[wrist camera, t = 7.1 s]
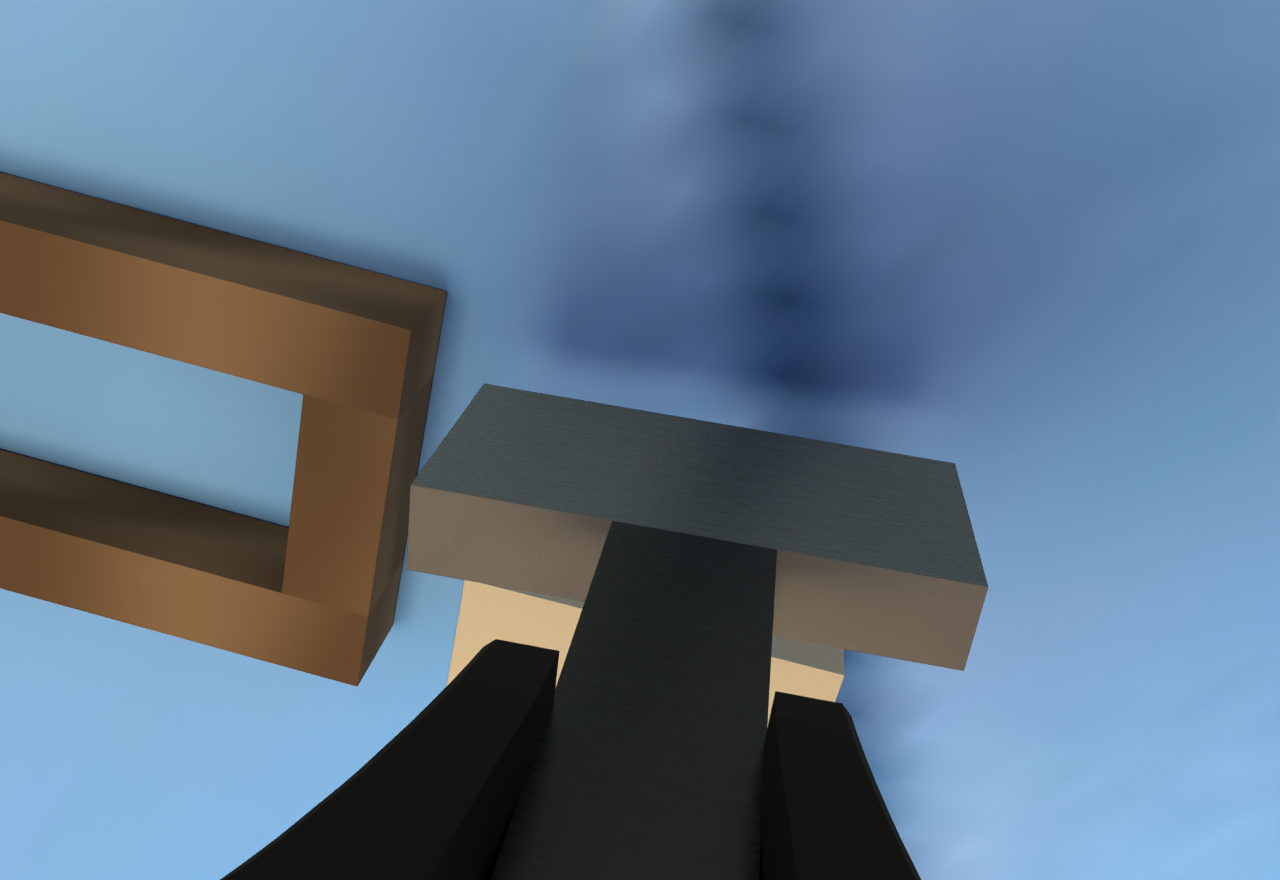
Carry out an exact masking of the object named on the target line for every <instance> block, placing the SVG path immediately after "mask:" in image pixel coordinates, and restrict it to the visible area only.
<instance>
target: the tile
mask: <svg viewBox="0 0 1280 880" xmlns="http://www.w3.org/2000/svg"><path fill="white" fill-rule="evenodd" d="M584 603H585V602H583V601H577V600H572V599H566V598H561V597H555V596H550V595H544V594H539V593H533V592H528V591H522V590H517V589H511V588H506V587H500V586H495V585H489V584H484V583H478V582H473V581H467V580H465V582H464V588H463V594H462V600H461V606H460V612H459V618H458V624H457V630H456V636H455V641H454V647H453V653H452V659H451V665H450V671H449V677H448V683H447V686H448V685H449V683H450V682H451V681H452V680H453V679H454V678H455V677H456V676H457V675H458V674H459V673H460V672H461V671H462V670H463V669H464V667H465V666H466V665H467V664H468V663H469V662H470V661H471V660H472V659H473V658H474V656H475V655H476V654H477V653H478V652H479V651H480V650H481V649H482V647H484V646H485V645H487V644H488V643H490V642H492V641H493V640H495V639H499V640H504V641H509V642H515V643H520V644H526V645H531V646H536V647H542V648H547V649H552V650H558V651H560V652H559V661H558V669H557V678H556V685H557V682H558V679H559V676H560V674H561V671H562V668H563V665H564V662H565V659H566V656H567V653H568V650H569V647H570V644H571V641H572V638H573V635H574V632H575V629H576V626H577V623H578V620H579V617H580V614H581V611H582V608H583V606H584ZM843 678H844V653H843V649H841V648H835V647H830V646H824V645H819V644H813V643H808V642H802V641H797V640H791V639H786V638H780V637H775V636H772V653H771V671H770V689H769V707H768V723H769V718H770V714H771V709H772V704H773V700H774V695H775V691H778V692H783V693H788V694H794V695H799V696H805V697H810V698H815V699H821V700H826V701H831V702H835V701H836V698H837V695H838V692H839V689H840V687H841V684H842V681H843ZM555 688H556V687H555ZM767 727H768V725H767Z"/></svg>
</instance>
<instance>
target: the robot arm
mask: <svg viewBox="0 0 1280 880" xmlns="http://www.w3.org/2000/svg"><path fill="white" fill-rule="evenodd" d="M559 652H560V651H558V650H552V649H547V648H542V647H536V646H531V645H526V644H520V643H515V642H509V641H504V640H499V639H495V640H493V641H492V642H490V643H488V644H487V645H485V646H484V647H482V649H481V650H480V651H479V652H478V653H477V654H476V655H475V656H474V658H473V659H472V660H471V661H470V662H469V663H468V664H467V665H466V666H465V667H464V669H463V670H462V671H461V672H460V673H459V674H458V675H457V676H456V677H455V678H454V679H453V680H452V681H451V682H450V683H449V685H448V686H447V687H446V688H445V689H444V690H443V691H442V692H441V693H440V694H439V695H438V696H437V697H436V698H435V699H434V700H433V701H432V702H431V703H430V704H429V705H428V706H427V707H426V708H425V709H424V710H423V711H422V712H421V713H420V714H419V715H418V716H417V717H416V718H415V719H414V720H413V721H412V722H411V723H410V724H408V725H407V726H406V727H405V728H404V729H403V730H402V731H401V732H400V733H399V734H398V735H397V736H395V737H394V738H393V739H392V740H391V741H390V742H389V743H388V744H387V745H386V746H385V747H384V748H382V749H381V750H380V751H379V752H378V753H377V754H376V755H375V756H374V757H373V758H372V759H371V760H369V761H368V762H367V763H366V764H365V765H364V766H363V767H362V768H361V769H360V770H359V771H357V772H356V773H355V774H354V775H353V776H352V777H351V778H349V779H348V780H347V781H346V782H345V783H344V784H342V785H341V786H340V787H339V788H337V789H336V790H335V791H334V792H333V793H331V794H330V795H329V796H328V797H327V798H325V799H324V800H323V801H322V802H320V803H319V804H318V805H317V806H316V807H314V808H313V809H312V810H311V811H309V812H308V813H307V814H306V815H305V816H303V817H302V818H301V819H300V820H298V821H297V822H296V823H295V824H294V825H292V826H291V827H290V828H289V829H287V830H286V831H285V832H284V833H283V834H281V835H280V836H279V837H277V838H276V839H275V840H274V841H272V842H271V843H270V844H268V845H267V846H266V847H264V848H263V849H262V850H260V851H259V852H258V853H256V854H255V855H254V856H252V857H251V858H250V859H248V860H247V861H246V862H244V863H243V864H242V865H240V866H239V867H237V868H236V869H235V870H233V871H232V872H230V873H229V874H228V875H226V876H225V877H224V878H222V879H221V880H491V878H492V875H493V872H494V869H495V866H496V863H497V860H498V857H499V854H500V851H501V848H502V845H503V842H504V839H505V836H506V833H507V830H508V827H509V824H510V821H511V818H512V815H513V812H514V810H515V807H516V804H517V801H518V798H519V795H520V792H521V790H522V788H523V786H524V784H525V782H526V780H527V778H528V776H529V774H530V771H531V768H532V765H533V762H534V759H535V756H536V753H537V750H538V747H539V744H540V741H541V738H542V735H543V732H544V729H545V726H546V723H547V720H548V717H549V714H550V711H551V708H552V705H553V702H554V696H555V687H556V678H557V669H558V661H559ZM760 824H761V852H760V870H759V880H921V878H920V876H919V874H918V872H917V870H916V868H915V866H914V864H913V862H912V860H911V858H910V856H909V854H908V852H907V850H906V848H905V846H904V844H903V842H902V840H901V838H900V836H899V834H898V831H897V829H896V827H895V825H894V823H893V821H892V819H891V816H890V814H889V812H888V809H887V807H886V805H885V802H884V800H883V798H882V796H881V793H880V791H879V789H878V786H877V784H876V782H875V779H874V777H873V774H872V772H871V769H870V767H869V764H868V762H867V759H866V757H865V754H864V751H863V749H862V746H861V743H860V741H859V738H858V735H857V732H856V729H855V726H854V723H853V720H852V717H851V715H850V714H849V712H848V711H847V710H846V708H845V707H844V706H843V704H842V703H837V702H831V701H826V700H821V699H815V698H810V697H805V696H799V695H794V694H788V693H783V692H778V691H775V695H774V700H773V704H772V709H771V714H770V718H769V723H768V727H767V732H766V737H765V742H764V759H763V776H762V793H761V810H760Z"/></svg>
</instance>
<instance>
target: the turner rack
mask: <svg viewBox="0 0 1280 880" xmlns="http://www.w3.org/2000/svg"><path fill="white" fill-rule="evenodd" d="M446 294H447V291H443V290H439V289H436V288H432V287H428V286H424V285H421V284H417V283H413V282H409V281H406V280H402V279H398V278H394V277H391V276H387V275H383V274H379V273H376V272H372V271H368V270H364V269H361V268H357V267H353V266H349V265H346V264H342V263H338V262H334V261H331V260H327V259H323V258H319V257H316V256H312V255H308V254H304V253H301V252H297V251H293V250H289V249H286V248H282V247H278V246H274V245H271V244H267V243H263V242H259V241H256V240H252V239H248V238H244V237H241V236H237V235H233V234H229V233H226V232H222V231H218V230H214V229H211V228H207V227H203V226H199V225H196V224H192V223H188V222H184V221H181V220H177V219H173V218H169V217H166V216H162V215H158V214H154V213H151V212H147V211H143V210H139V209H136V208H132V207H128V206H124V205H121V204H117V203H113V202H109V201H106V200H102V199H98V198H94V197H91V196H87V195H83V194H79V193H76V192H72V191H68V190H64V189H61V188H57V187H53V186H49V185H46V184H42V183H38V182H34V181H31V180H27V179H23V178H19V177H16V176H12V175H8V174H4V173H1V172H0V313H4V314H8V315H11V316H15V317H19V318H22V319H26V320H30V321H33V322H37V323H41V324H45V325H48V326H52V327H56V328H59V329H63V330H67V331H71V332H74V333H78V334H82V335H85V336H89V337H93V338H97V339H100V340H104V341H108V342H111V343H115V344H119V345H122V346H126V347H130V348H134V349H137V350H141V351H145V352H148V353H152V354H156V355H160V356H163V357H167V358H171V359H174V360H178V361H182V362H186V363H189V364H193V365H197V366H200V367H204V368H208V369H212V370H215V371H219V372H223V373H226V374H230V375H234V376H237V377H241V378H245V379H249V380H252V381H256V382H260V383H263V384H267V385H271V386H275V387H278V388H282V389H286V390H289V391H293V392H297V393H301V394H303V403H302V413H301V422H300V431H299V440H298V449H297V459H296V468H295V477H294V486H293V495H292V505H291V514H290V523H289V528H286V527H283V526H279V525H275V524H272V523H268V522H264V521H261V520H257V519H253V518H250V517H246V516H242V515H239V514H235V513H231V512H228V511H224V510H220V509H217V508H213V507H209V506H206V505H202V504H198V503H195V502H191V501H187V500H184V499H180V498H176V497H173V496H169V495H165V494H162V493H158V492H154V491H151V490H147V489H143V488H140V487H136V486H132V485H129V484H125V483H121V482H118V481H114V480H110V479H107V478H103V477H99V476H96V475H92V474H88V473H84V472H81V471H77V470H73V469H70V468H66V467H62V466H59V465H55V464H51V463H48V462H44V461H40V460H37V459H33V458H29V457H26V456H22V455H18V454H15V453H11V452H7V451H4V450H0V588H1V589H5V590H9V591H12V592H16V593H20V594H23V595H27V596H31V597H34V598H38V599H41V600H45V601H49V602H52V603H56V604H60V605H63V606H67V607H71V608H74V609H78V610H81V611H85V612H89V613H92V614H96V615H100V616H103V617H107V618H110V619H114V620H118V621H121V622H125V623H129V624H132V625H136V626H140V627H143V628H147V629H150V630H154V631H158V632H161V633H165V634H169V635H172V636H176V637H179V638H183V639H187V640H190V641H194V642H198V643H201V644H205V645H209V646H212V647H216V648H219V649H223V650H227V651H230V652H234V653H238V654H241V655H245V656H249V657H252V658H256V659H259V660H263V661H267V662H270V663H274V664H278V665H281V666H285V667H288V668H292V669H296V670H299V671H303V672H307V673H310V674H314V675H318V676H321V677H325V678H328V679H332V680H336V681H339V682H343V683H347V684H350V685H354V686H358V685H359V683H360V681H361V679H362V678H363V676H364V674H365V672H366V671H367V669H368V667H369V666H370V664H371V662H372V660H373V659H374V657H375V655H376V653H377V652H378V650H379V648H380V647H381V645H382V643H383V641H384V640H385V638H386V636H387V634H388V633H389V631H390V629H391V627H392V626H393V620H394V614H395V608H396V602H397V596H398V590H399V583H400V577H401V571H402V565H403V559H404V553H405V546H406V540H407V534H408V528H409V509H410V489H411V484H412V482H413V481H414V480H415V478H416V477H417V473H418V467H419V460H420V454H421V448H422V442H423V436H424V430H425V424H426V417H427V411H428V405H429V399H430V393H431V387H432V380H433V374H434V368H435V362H436V356H437V350H438V344H439V337H440V331H441V325H442V319H443V313H444V307H445V301H446Z"/></svg>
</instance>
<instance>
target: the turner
mask: <svg viewBox="0 0 1280 880" xmlns="http://www.w3.org/2000/svg"><path fill="white" fill-rule="evenodd" d="M407 570H413V571H418V572H424V573H429V574H435V575H440V576H446V577H451V578H456V579H462V580H467V581H473V582H478V583H484V584H489V585H495V586H500V587H506V588H511V589H517V590H522V591H528V592H533V593H539V594H544V595H550V596H555V597H561V598H566V599H572V600H577V601H583V602H585V603H584V606H583V608H582V611H581V614H580V617H579V620H578V623H577V626H576V629H575V632H574V635H573V638H572V641H571V644H570V647H569V650H568V653H567V656H566V659H565V662H564V665H563V668H562V671H561V674H560V676H559V679H558V682H557V685H556V688H555V696H554V702H553V705H552V708H551V711H550V714H549V717H548V720H547V723H546V726H545V729H544V732H543V735H542V738H541V741H540V744H539V747H538V750H537V753H536V756H535V759H534V762H533V765H532V768H531V771H530V774H529V776H528V778H527V780H526V782H525V784H524V786H523V788H522V790H521V792H520V795H519V798H518V801H517V804H516V807H515V810H514V812H513V815H512V818H511V821H510V824H509V827H508V830H507V833H506V836H505V839H504V842H503V845H502V848H501V851H500V854H499V857H498V860H497V863H496V866H495V869H494V872H493V875H492V878H491V880H759V870H760V852H761V824H760V810H761V793H762V776H763V759H764V742H765V737H766V732H767V725H768V707H769V689H770V671H771V653H772V636H775V637H780V638H786V639H791V640H797V641H802V642H808V643H813V644H819V645H824V646H830V647H835V648H841V649H846V650H852V651H857V652H863V653H868V654H874V655H879V656H885V657H890V658H896V659H901V660H907V661H912V662H918V663H923V664H929V665H934V666H940V667H945V668H951V669H956V670H962V671H964V668H965V665H966V661H967V658H968V655H969V651H970V648H971V644H972V641H973V637H974V634H975V631H976V627H977V624H978V620H979V617H980V613H981V610H982V607H983V603H984V600H985V596H986V593H987V590H988V584H987V581H986V577H985V573H984V570H983V566H982V562H981V558H980V555H979V551H978V547H977V544H976V540H975V536H974V533H973V529H972V525H971V521H970V518H969V514H968V510H967V507H966V503H965V499H964V496H963V492H962V488H961V484H960V481H959V477H958V473H957V470H956V466H955V463H949V462H943V461H937V460H932V459H926V458H920V457H914V456H908V455H902V454H896V453H890V452H884V451H878V450H873V449H867V448H861V447H855V446H849V445H843V444H837V443H831V442H825V441H819V440H814V439H808V438H802V437H796V436H790V435H784V434H778V433H772V432H766V431H760V430H755V429H749V428H743V427H737V426H731V425H725V424H719V423H713V422H707V421H701V420H696V419H690V418H684V417H678V416H672V415H666V414H660V413H654V412H648V411H643V410H637V409H631V408H625V407H619V406H613V405H607V404H601V403H595V402H589V401H584V400H578V399H572V398H566V397H560V396H554V395H548V394H542V393H536V392H530V391H525V390H519V389H513V388H507V387H501V386H495V385H489V384H483V386H482V387H481V389H480V390H479V391H478V393H477V394H476V395H475V397H474V398H473V400H472V401H471V402H470V404H469V405H468V407H467V408H466V409H465V411H464V412H463V413H462V415H461V416H460V418H459V419H458V420H457V422H456V423H455V424H454V426H453V427H452V429H451V430H450V431H449V433H448V434H447V436H446V437H445V438H444V440H443V441H442V442H441V444H440V445H439V447H438V448H437V449H436V451H435V452H434V453H433V455H432V456H431V458H430V459H429V460H428V462H427V463H426V465H425V466H424V467H423V469H422V470H421V471H420V473H419V474H418V476H417V477H416V478H415V480H414V481H413V482H412V484H411V489H410V509H409V529H408V550H407Z"/></svg>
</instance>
